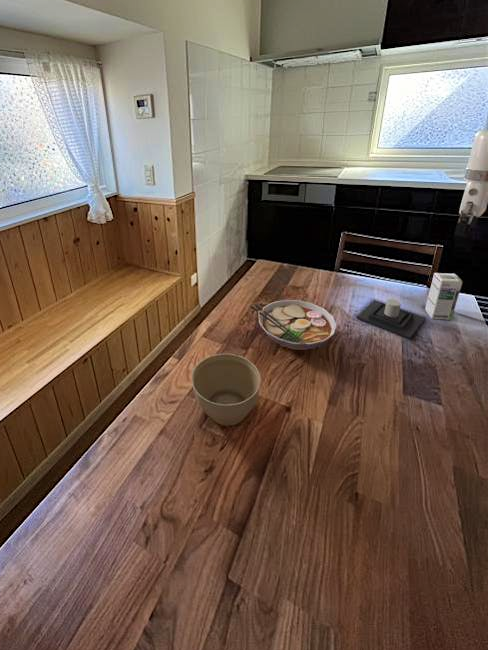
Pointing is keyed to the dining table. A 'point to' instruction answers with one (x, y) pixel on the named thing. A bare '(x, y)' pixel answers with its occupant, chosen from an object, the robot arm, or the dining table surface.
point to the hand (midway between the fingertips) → (465, 231)
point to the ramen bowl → (296, 323)
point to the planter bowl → (226, 387)
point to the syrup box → (443, 295)
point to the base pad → (402, 329)
